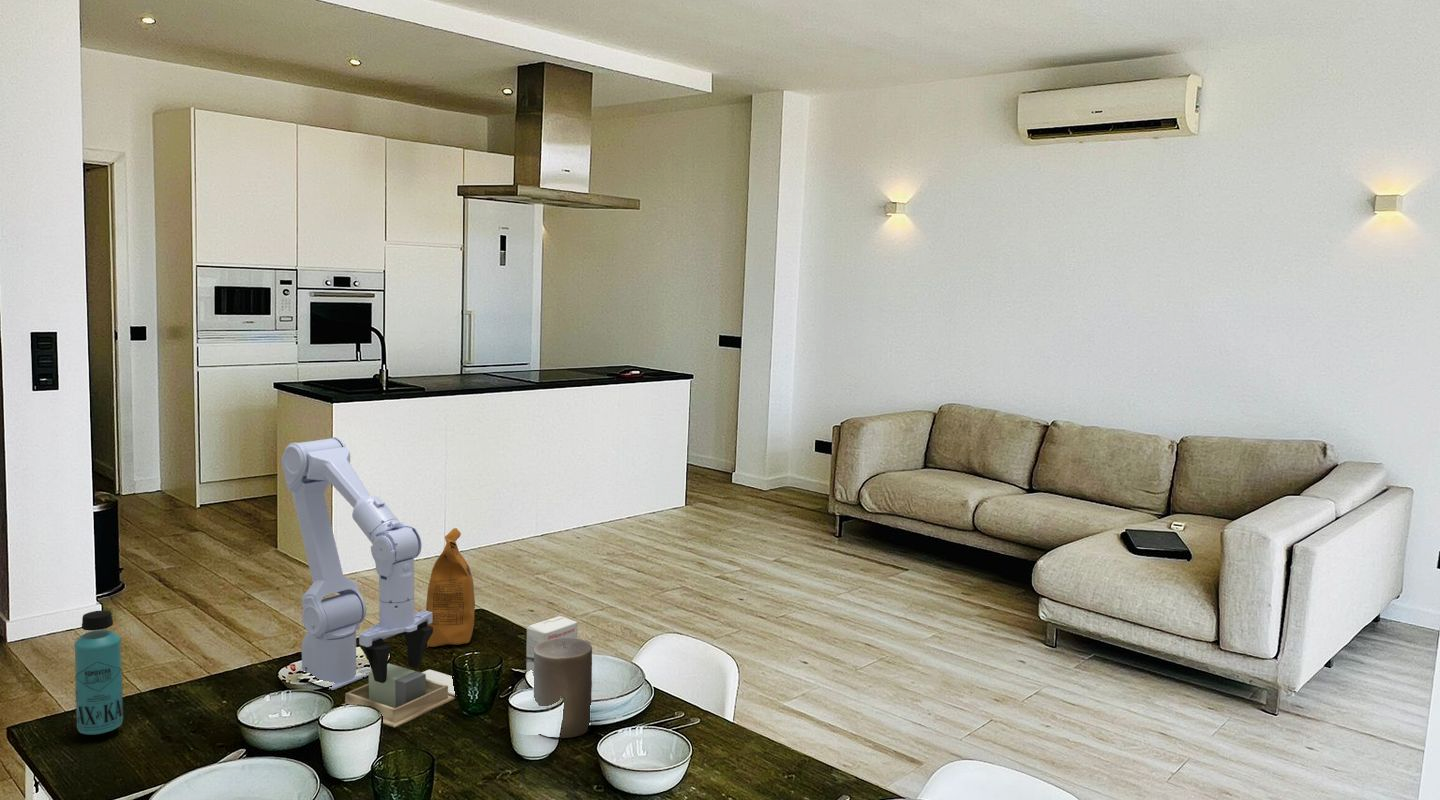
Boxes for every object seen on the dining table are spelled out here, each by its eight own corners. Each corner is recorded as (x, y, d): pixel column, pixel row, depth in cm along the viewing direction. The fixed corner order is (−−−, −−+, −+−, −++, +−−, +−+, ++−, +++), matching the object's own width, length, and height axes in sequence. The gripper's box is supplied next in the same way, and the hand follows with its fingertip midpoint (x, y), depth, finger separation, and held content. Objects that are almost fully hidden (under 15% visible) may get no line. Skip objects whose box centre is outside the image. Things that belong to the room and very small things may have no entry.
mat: (406, 680, 183) (406, 679, 183) (429, 670, 188) (429, 669, 188) (454, 696, 177) (454, 694, 177) (477, 685, 182) (477, 683, 182)
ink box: (543, 696, 179) (544, 633, 177) (524, 688, 181) (525, 626, 180) (578, 682, 185) (579, 620, 184) (559, 675, 188) (560, 614, 187)
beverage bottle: (71, 734, 158) (65, 612, 156) (118, 721, 163) (113, 603, 161) (83, 748, 154) (78, 623, 151) (131, 735, 159) (126, 613, 156)
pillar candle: (603, 727, 167) (604, 640, 166) (555, 744, 160) (556, 654, 159) (568, 709, 174) (569, 625, 172) (520, 725, 167) (521, 638, 165)
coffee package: (479, 627, 212) (480, 526, 209) (472, 649, 200) (472, 541, 197) (431, 627, 211) (431, 525, 208) (420, 649, 198) (420, 541, 196)
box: (368, 702, 174) (368, 671, 173) (389, 693, 178) (389, 662, 177) (405, 714, 169) (405, 682, 169) (426, 704, 173) (425, 674, 173)
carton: (338, 707, 171) (338, 693, 171) (399, 681, 183) (399, 668, 182) (394, 727, 164) (394, 713, 164) (454, 698, 176) (454, 685, 176)
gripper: (379, 613, 163) (380, 693, 165) (445, 591, 176) (445, 665, 177) (350, 605, 166) (351, 683, 168) (416, 584, 179) (416, 657, 181)
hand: (397, 674), depth 173 cm, fingers open, 7 cm apart
